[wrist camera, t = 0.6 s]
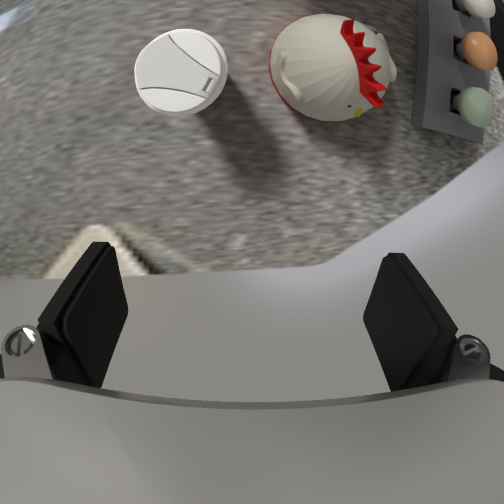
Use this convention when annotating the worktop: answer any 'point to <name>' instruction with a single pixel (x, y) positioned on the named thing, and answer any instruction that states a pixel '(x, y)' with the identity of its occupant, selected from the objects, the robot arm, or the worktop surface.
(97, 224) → the worktop surface
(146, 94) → the paper cup
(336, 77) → the white rounded crested piece
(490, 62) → the button terracotta
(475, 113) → the button sage
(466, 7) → the button ivory
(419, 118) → the console
